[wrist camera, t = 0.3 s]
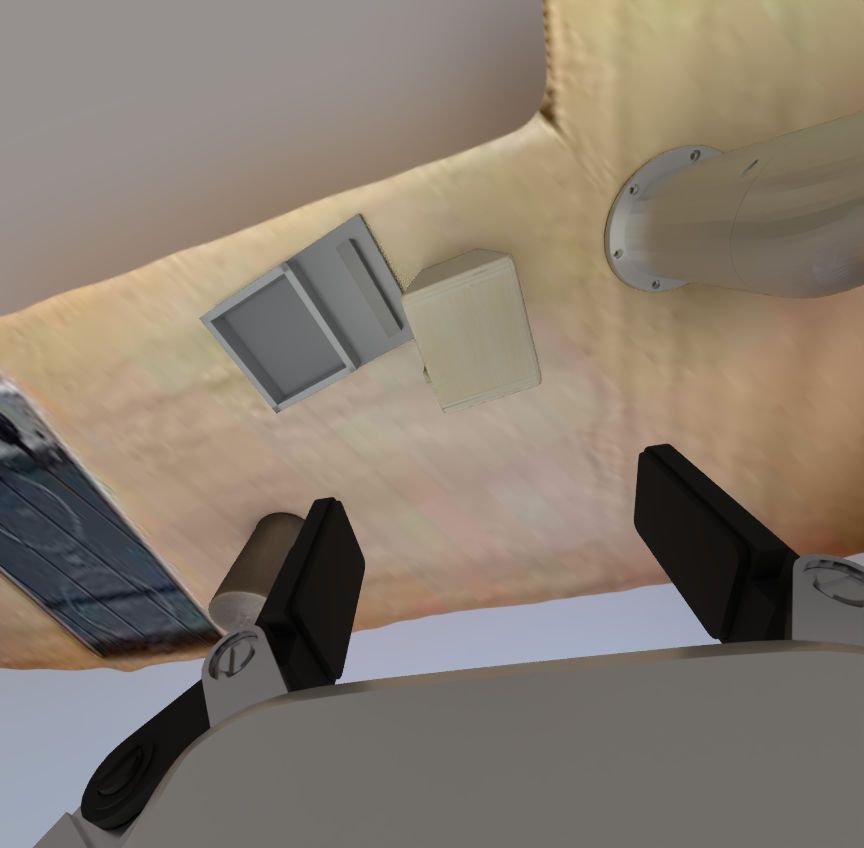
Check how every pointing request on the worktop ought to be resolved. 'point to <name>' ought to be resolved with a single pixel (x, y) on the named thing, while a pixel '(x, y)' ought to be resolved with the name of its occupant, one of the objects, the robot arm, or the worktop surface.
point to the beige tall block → (472, 329)
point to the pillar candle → (254, 572)
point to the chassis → (313, 317)
